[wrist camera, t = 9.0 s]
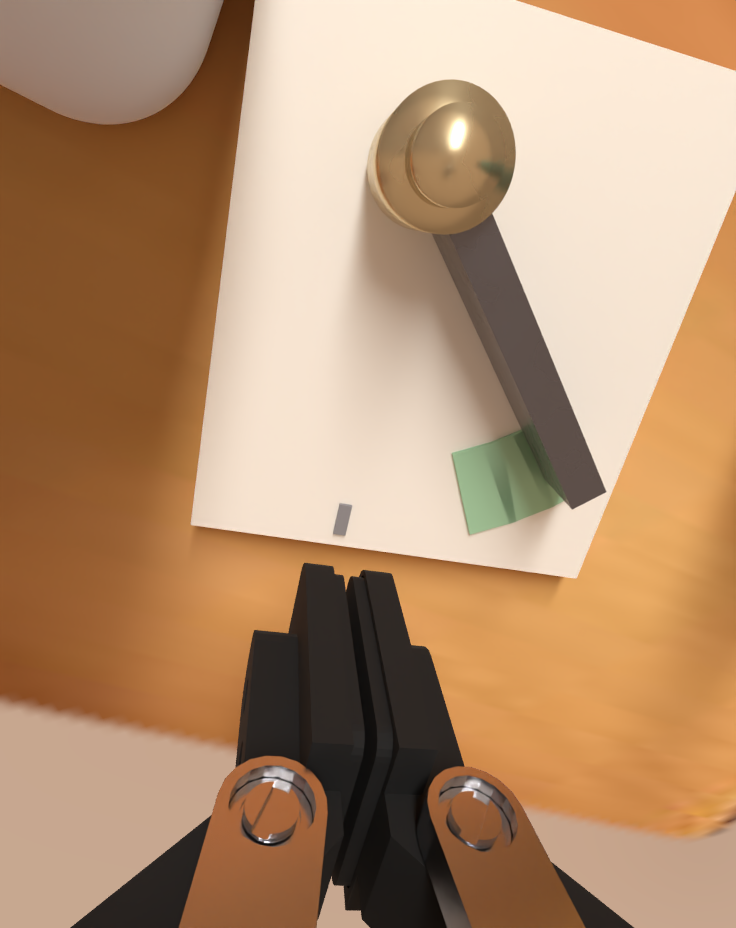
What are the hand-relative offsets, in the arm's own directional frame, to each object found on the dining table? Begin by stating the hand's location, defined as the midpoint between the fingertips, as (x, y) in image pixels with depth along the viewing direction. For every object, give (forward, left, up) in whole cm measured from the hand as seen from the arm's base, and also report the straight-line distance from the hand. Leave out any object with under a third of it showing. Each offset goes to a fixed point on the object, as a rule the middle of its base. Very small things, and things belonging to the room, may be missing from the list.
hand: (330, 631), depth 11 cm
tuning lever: (-5, +6, -16) cm, 18 cm away
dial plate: (-4, +5, -18) cm, 19 cm away
